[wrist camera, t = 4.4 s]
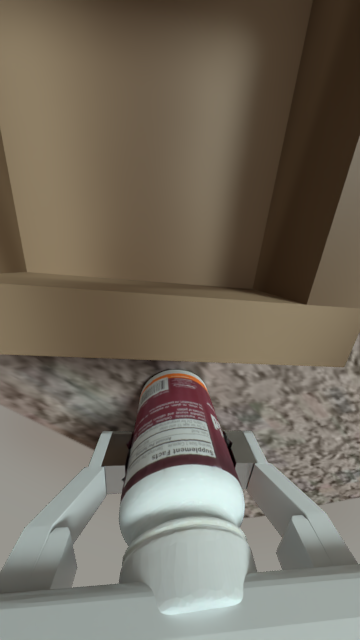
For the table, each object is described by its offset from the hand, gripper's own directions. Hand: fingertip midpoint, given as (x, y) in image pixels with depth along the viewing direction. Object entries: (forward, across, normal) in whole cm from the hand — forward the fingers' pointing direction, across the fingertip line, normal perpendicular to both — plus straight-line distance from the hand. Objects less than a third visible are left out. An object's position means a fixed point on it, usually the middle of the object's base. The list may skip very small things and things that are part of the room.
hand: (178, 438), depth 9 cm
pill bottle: (+3, 0, 0) cm, 3 cm away
